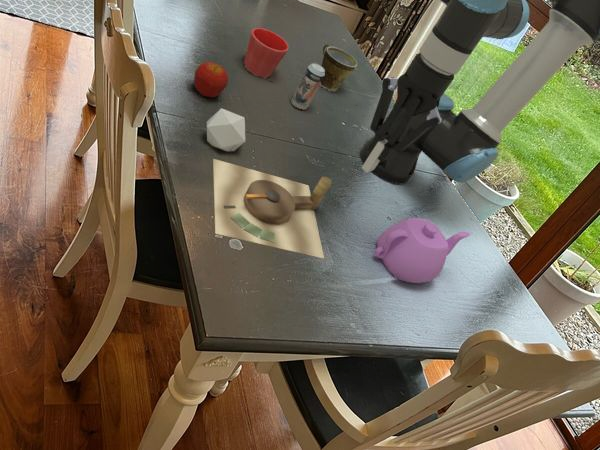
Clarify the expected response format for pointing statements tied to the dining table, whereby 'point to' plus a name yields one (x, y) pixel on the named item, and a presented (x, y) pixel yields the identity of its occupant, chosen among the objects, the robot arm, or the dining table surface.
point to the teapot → (415, 249)
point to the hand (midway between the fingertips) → (367, 168)
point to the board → (245, 226)
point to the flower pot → (264, 52)
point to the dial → (280, 200)
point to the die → (226, 130)
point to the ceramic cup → (336, 67)
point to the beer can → (308, 86)
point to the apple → (210, 79)
